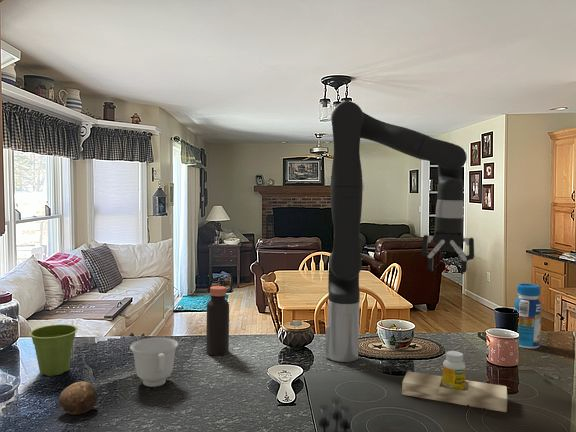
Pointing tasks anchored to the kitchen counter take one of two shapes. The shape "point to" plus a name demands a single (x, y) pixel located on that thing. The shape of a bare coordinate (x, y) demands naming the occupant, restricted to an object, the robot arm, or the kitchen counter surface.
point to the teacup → (154, 359)
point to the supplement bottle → (454, 371)
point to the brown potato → (78, 398)
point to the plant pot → (53, 347)
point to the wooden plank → (455, 391)
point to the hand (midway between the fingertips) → (446, 272)
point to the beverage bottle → (528, 315)
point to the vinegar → (217, 322)
